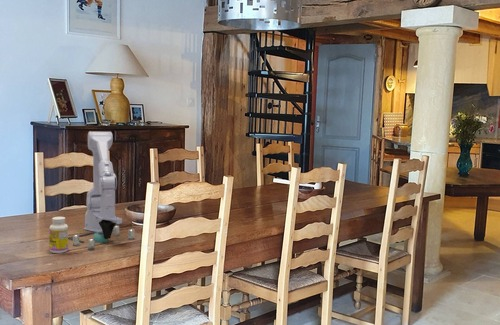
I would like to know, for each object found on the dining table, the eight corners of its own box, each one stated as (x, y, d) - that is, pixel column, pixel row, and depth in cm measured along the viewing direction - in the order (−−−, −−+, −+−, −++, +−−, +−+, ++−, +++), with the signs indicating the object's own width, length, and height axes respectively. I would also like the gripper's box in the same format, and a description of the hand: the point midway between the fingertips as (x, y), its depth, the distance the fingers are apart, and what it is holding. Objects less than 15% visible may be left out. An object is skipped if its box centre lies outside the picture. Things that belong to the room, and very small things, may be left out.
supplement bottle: (46, 250, 202) (46, 217, 200) (63, 247, 206) (63, 215, 205) (54, 254, 197) (54, 220, 196) (71, 251, 202) (71, 218, 200)
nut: (90, 241, 217) (90, 233, 217) (101, 238, 222) (101, 231, 222) (100, 243, 214) (100, 236, 214) (110, 240, 219) (110, 233, 219)
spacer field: (71, 245, 210) (71, 235, 210) (116, 234, 230) (116, 225, 229) (90, 250, 204) (90, 240, 204) (135, 238, 224) (135, 229, 223)
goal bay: (67, 239, 219) (67, 237, 219) (94, 233, 231) (94, 231, 231) (82, 243, 214) (82, 241, 214) (109, 236, 226) (109, 235, 225)
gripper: (87, 204, 215) (87, 237, 217) (112, 209, 207) (112, 243, 209) (101, 202, 221) (101, 234, 222) (126, 206, 213) (125, 240, 215)
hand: (107, 238), depth 216 cm, fingers closed
